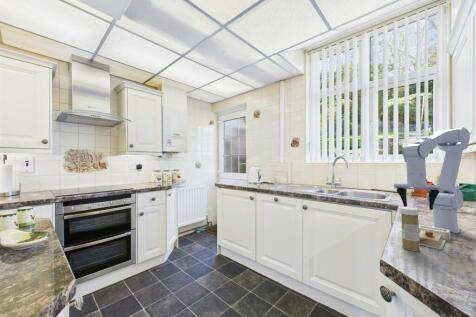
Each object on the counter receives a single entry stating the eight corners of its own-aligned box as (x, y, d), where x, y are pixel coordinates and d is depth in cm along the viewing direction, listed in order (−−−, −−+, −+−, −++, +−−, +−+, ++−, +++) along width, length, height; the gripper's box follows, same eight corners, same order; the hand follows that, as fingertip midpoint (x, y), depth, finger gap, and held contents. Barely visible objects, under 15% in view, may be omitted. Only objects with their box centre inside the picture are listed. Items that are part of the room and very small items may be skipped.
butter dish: (419, 232, 81) (419, 224, 81) (450, 237, 74) (450, 229, 74) (417, 234, 78) (416, 227, 78) (449, 241, 71) (448, 232, 71)
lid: (416, 242, 69) (416, 233, 69) (421, 236, 75) (421, 227, 75) (438, 247, 65) (438, 237, 65) (441, 240, 71) (441, 231, 71)
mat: (419, 236, 76) (419, 235, 76) (445, 241, 71) (445, 240, 71) (413, 243, 69) (413, 242, 69) (441, 249, 64) (441, 248, 64)
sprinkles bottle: (403, 245, 68) (402, 206, 69) (421, 249, 65) (419, 208, 65) (400, 248, 65) (398, 207, 66) (419, 253, 62) (417, 210, 62)
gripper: (391, 173, 82) (392, 206, 82) (440, 174, 71) (442, 212, 70) (395, 173, 87) (397, 204, 86) (443, 174, 75) (444, 209, 75)
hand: (417, 207), depth 79 cm, fingers open, 7 cm apart
